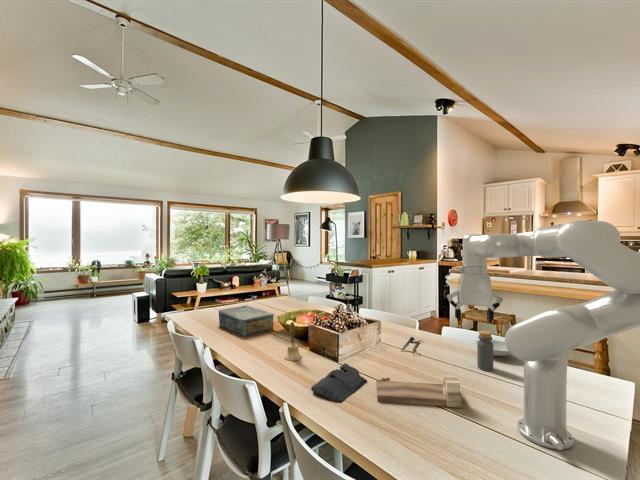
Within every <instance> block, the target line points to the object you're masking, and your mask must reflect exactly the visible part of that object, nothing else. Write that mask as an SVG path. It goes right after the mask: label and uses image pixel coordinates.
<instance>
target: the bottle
mask: <svg viewBox="0 0 640 480" xmlns="http://www.w3.org/2000/svg"><path fill="white" fill-rule="evenodd" d="M492 334H493V333H492V332H491V331H490V330H489V331H488V330H479V331H478V337H477V338H478V340H479V341H478V342H477V344H476V345H477V347H476V348H477V349H476V350H477V357H476V358H477V362H476V365H477V369H479V370H481V371H485V372H486V371H487V372H492V371H494V355H493V343H492V342H491V340H493V336H492Z"/></svg>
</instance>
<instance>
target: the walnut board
mask: <svg viewBox="0 0 640 480" xmlns="http://www.w3.org/2000/svg"><path fill="white" fill-rule="evenodd" d="M380 380H381V379H378V380H377V379H376V380H375V381H376V382H375V383H376V399H377V402H383V403H384V402H385V403H396V404H397V403H398V404H413V405H426V406H436V407H437V406H439V407H441V406H442V407H447V400H446V398H445V396H444V394H443V383H428V382H427V383H425V382H413V381H412V382H411V381H410V382H409V381H397V380H396V381H393V380H392V381H391V380H389V381H380ZM460 395H461V408H467V400H466V399H465V397H464V395H463V394H462V392H461V391H460Z"/></svg>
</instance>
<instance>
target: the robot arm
mask: <svg viewBox="0 0 640 480" xmlns="http://www.w3.org/2000/svg"><path fill="white" fill-rule="evenodd" d="M621 237H622V236H621V233H620V231H619V229H618V228H617V227H616V226H615V225H613V224H612V223H609V222H607V221H603V220H588V219H587V220H582V219H581V220H579V219H578V220H573V221H569V222H567V223H565V224H557V225H555V224H554V225H546V226H540V227H538V228H537V229H536V230H533V231H528V232H527V231H526V232H515V233H487V234H477V233H476V234H474V233H473V234H472V233H471V234H465V235H463V237H462V265H461V266H457V272H461V273H460V274H459V278H458V285H457V290H455V291H453V292H451V293H449V294H447V295H446V298H447V300H448V302H449V303H450V304H451V306H452V307H454V317H455V319H456V320H457V321H458V322H461V321H462V309H461V308H462V306H477V307H478V306H479V307H482V306H483V307H487V309H486V321H487V322H488V323H490V324H492V323H493V321H494V320H495V319H494V316H495V315H494V314H495V311H496V309H498V308H499V307H500V306H501V304H502V302H503V299H504V298H503V297H502V296H500V295H497V294H495V293H493V289H492V280H491V276H490V275H488V259H497V258H499V259H500V258H515V257H517V258H518V257H541V258H543V259H544V258H545V259H546V258H548V259H549V258H569V259H571V260H572V261H573V262H575V263H576V264H577V265H579V266H580V267H582V268H583V270H584V269H585V271H587V272H589V273H590V274H591V275H593V276H594V277H595V278H597V279H598V280H600V281H601V282H603V283H604V284H605V285H608V286H609V287H611V288H612V289H614V290H613V291H609V292H607V293H604V294H602V295H600V296H598V297H595V298H593V299H590V300H588V301H585V302H582V303H578V304H573V305H572V304H571V305H566V306H560V307H555V308H552V309H549V310H546V311H543V312H542V313H539V314H536V315H533V316H531V317H529V318H527V319H525V320H523V321H520V322H518V323H516V324H513V325H512V326H510V327H509V328H508V329H507V330H506V332H505V335H504V342H505V345H506V348H507V349H508V351H509V352H510V353H511V355H512V356H513V357H514V358H516V359H518V360H520V361H524V363H523V418H521V419H520V418H519V420H518V421H517V430H518V431H519V433H520V434H521V435H523V437H524V438H526V439H527V440H529V441H530V442H533V443H535V444H536V445H540V446H542V447H545V448H547V449H554V450H558V451H561V450H562V451H563V450H569V449H571V448H572V447H573V446H574V445H575V439H574V436H573V435H572V433H571V432H570V431H568V430H567V383H568V379H567V377H568V373H567V372H568V362H569V357H570V351H572V350H576V349H579V348H583V347H586V346H590V345H592V344H596V343H597V342H599V341H602V340H604V339H606V338H609V337H612V336H614V335H618V334H621V333H624V332H625V333H626V332H627V331H630V330H633V329H636V328H638V327H640V251H636V250H633V249H632V248H629V246H626V245H625V244H623V243H621V240H622V239H621ZM455 297H457V301H456V302H455V301H454V299H453V298H455ZM493 299H495V302H494V301H493Z"/></svg>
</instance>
